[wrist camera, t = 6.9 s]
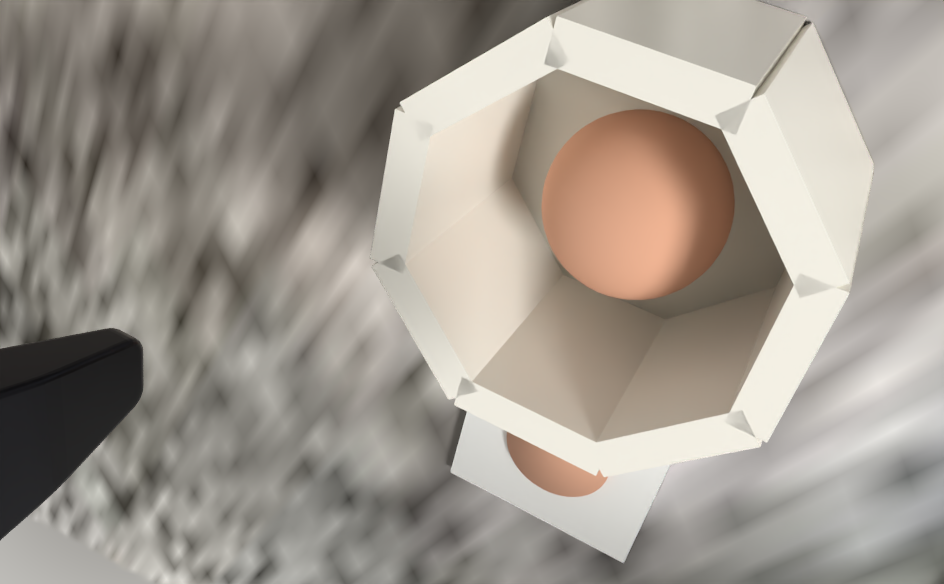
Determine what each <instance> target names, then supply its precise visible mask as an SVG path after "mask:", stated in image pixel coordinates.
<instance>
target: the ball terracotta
mask: <svg viewBox="0 0 944 584" xmlns="http://www.w3.org/2000/svg"><path fill="white" fill-rule="evenodd" d="M734 207H735V199H734V189H733V183H732V179H731V175H730V172H729V170H728V167H727V164H726V162H725V161H724V159H723V157H722V155H721V153H720V152H719V151H718V149H717V148H716V147H715V145H714V144H713V143H712V142H711V140H710V139H709V138H708V137H707V136H706V135H705V134H704V133H702V132H701V131H700V130H699V129H697V128H696V127H695V126H693V125H692V124H690V123H688V122H687V121H685V120H683V119H680V118H678V117H676V116H674V115H671V114H667V113H664V112H660V111H654V110H644V109H635V110H625V111H620V112H616V113H612V114H608V115H606V116H603V117H601V118H598V119H596V120H595V121H593V122H591V123H589V124H588V125H586V126H584V127H583V128H582V129H580V130H579V131H578V132H576V133H575V134H574V135H573V136H572V137H571V138H570V139H569V140H568V141H567V142H566V143H565V144H564V146H563V147H562V148H561V150H560V151H559V152H558V154H557V155H556V157H555V159H554V160H553V162H552V164H551V166H550V169H549V171H548V174H547V177H546V179H545V183H544V188H543V193H542V206H541V208H542V220H543V225H544V230H545V233H546V236H547V239H548V242H549V244H550V246H551V249H552V251H553V252H554V254H555V256H556V257H557V259H558V260H559V262H560V263H561V264H562V265H563V267H564V268H565V269H566V270H567V271H568V272H569V273H570V274H571V275H572V276H573V277H574V278H576V279H577V280H578V281H579V282H581V283H582V284H584V285H585V286H587V287H588V288H590V289H592V290H594V291H596V292H598V293H601V294H604V295H607V296H610V297H614V298H618V299H626V300H646V299H654V298H658V297H662V296H666V295H669V294H671V293H674V292H676V291H679V290H681V289H683V288H684V287H686V286H688V285H690V284H691V283H692V282H694V281H695V280H696V279H698V278H699V277H700V276H701V275H703V274H704V273H705V272H706V271H707V270H708V269H709V268H710V267H711V265H712V264H713V263H714V261H715V260H716V259H717V257H718V256H719V254H720V253H721V251H722V249H723V247H724V246H725V244H726V242H727V239H728V236H729V233H730V231H731V227H732V223H733V218H734Z"/></svg>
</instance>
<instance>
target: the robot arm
mask: <svg viewBox="0 0 944 584" xmlns="http://www.w3.org/2000/svg"><path fill="white" fill-rule="evenodd" d="M142 392H143V347H142V345H141V343H140V341H138V340H137V339H136V338H134V337H132V336H130V335H128V334H126V333H124V332H123V331H121V330H118V329H114V328H109V329H102V330H97V331H92V332H86V333H81V334H76V335H70V336H65V337H60V338H55V339H49V340H44V341H39V342H33V343H28V344H23V345H18V346H12V347H7V348H2V349H0V540H1V539H2V538H3V537H4V536H6V535H7V534H8V533H9V532H10V531H11V530H12V529H14V528H15V527H16V526H17V525H18V524H19V523H20V522H21V521H23V520H24V519H25V518H26V517H27V516H28V515H30V514H31V513H32V512H33V511H34V510H35V509H36V508H37V507H39V506H40V505H41V504H42V503H43V502H44V501H45V500H46V499H47V498H48V497H49V496H51V495H52V494H53V493H54V492H55V491H56V490H57V489H58V488H59V487H60V486H61V485H62V484H63V483H64V482H65V481H66V480H67V479H68V478H69V477H70V476H71V475H72V473H73V472H74V471H75V470H76V469H77V468H78V467H79V466H80V465H81V464H82V463H83V462H84V461H85V460H86V458H87V457H88V456H89V455H90V454H91V453H92V452H93V451H94V450H95V449H96V448H97V447H98V446H99V445H100V443H101V442H102V441H103V440H104V439H105V438H106V437H107V436H108V435H109V434H110V433H111V432H112V431H113V429H114V428H115V427H116V426H117V425H118V424H119V423H120V422H121V421H122V420H123V419H124V418H125V417H126V416H127V414H128V413H129V412H130V411H131V410H132V409H133V408H134V407H135V406H136V404H137V403H138V401H139V399H140V397H141V395H142Z"/></svg>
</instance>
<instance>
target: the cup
mask: <svg viewBox="0 0 944 584" xmlns="http://www.w3.org/2000/svg"><path fill="white" fill-rule="evenodd" d="M805 20H806V16H803V15H800V14H797V13H794V12H791V11H788V10H784V9H781V8H778V7H775V6H772V5H769V4H766V3H763V2H760V1H757V0H582V1H579V2H577V3H575V4H573V5H571V6H569V7H567V8H565V9H563V10H560V11H558V12H556V13H554V14H552V15H550V16H548V17H546V18H544V19H542V20H541V21H539V22H537V23H535V24H534V25H532V26H530V27H529V28H527V29H525V30H523V31H522V32H520V33H518V34H517V35H515V36H513V37H511V38H510V39H508V40H506V41H504V42H503V43H501V44H499V45H498V46H496V47H494V48H492V49H491V50H489V51H487V52H485V53H484V54H482V55H480V56H479V57H477V58H475V59H473V60H472V61H470V62H468V63H466V64H465V65H463V66H461V67H460V68H458V69H456V70H454V71H453V72H451V73H449V74H448V75H446V76H444V77H442V78H441V79H439V80H437V81H435V82H434V83H432V84H430V85H429V86H427V87H425V88H423V89H422V90H420V91H418V92H416V93H415V94H413V95H411V96H410V97H408V98H406V99H404V100H403V101H401V102H399V103H400V104H401V106H400V107H398V108H396V109H395V113H394V118H393V124H392V130H391V136H390V142H389V148H388V154H387V160H386V166H385V172H384V177H383V183H382V189H381V195H380V201H379V207H378V213H377V219H376V225H375V231H374V237H373V242H372V248H371V254H370V259H372V260H374V261H376V263H375V264H373V265H372V268H373V270H374V272H375V273H376V275H377V277H378V278H379V280H380V282H381V284H382V285H383V287H384V289H385V291H386V292H387V294H388V296H389V298H390V299H391V301H392V303H393V304H394V306H395V308H396V310H397V311H398V313H399V315H400V317H401V318H402V320H403V322H404V324H405V325H406V327H407V329H408V330H409V332H410V334H411V336H412V337H413V339H414V341H415V343H416V344H417V346H418V348H419V350H420V351H421V353H422V355H423V356H424V358H425V360H426V362H427V363H428V365H429V367H430V369H431V370H432V372H433V374H434V376H435V377H436V379H437V381H438V382H439V384H440V386H441V388H442V389H443V391H444V393H445V395H446V396H447V398H448V400H449V399H453V398H456V400H455V404H454V405H455V406H457V407H459V408H461V409H463V410H465V411H467V412H469V413H471V414H473V415H475V416H477V417H479V418H481V419H483V420H485V421H487V422H489V423H491V424H493V425H495V426H497V427H499V428H501V429H503V430H505V431H507V432H509V433H511V434H513V435H515V436H517V437H519V438H521V439H523V440H525V441H527V442H529V443H531V444H533V445H535V446H537V447H539V448H541V449H543V450H545V451H547V452H549V453H551V454H553V455H555V456H557V457H559V458H561V459H563V460H565V461H567V462H569V463H571V464H573V465H575V466H577V467H579V468H581V469H583V470H585V471H587V472H589V473H591V474H593V475H595V476H596V475H597V473H598V471H599V470H600V471H601V473H602V475H603V477H608V476H613V475H618V474H624V473H629V472H634V471H639V470H644V469H649V468H655V467H660V466H665V465H670V464H675V463H680V462H686V461H691V460H696V459H701V458H706V457H711V456H716V455H722V454H727V453H732V452H737V451H742V450H747V449H753V448H758V447H761V443H762V440H763V441H765V442H768V440H769V438H770V436H771V435H772V433H773V431H774V429H775V427H776V426H777V424H778V422H779V420H780V418H781V416H782V415H783V413H784V411H785V409H786V407H787V406H788V404H789V402H790V400H791V398H792V397H793V395H794V393H795V391H796V389H797V387H798V386H799V384H800V382H801V380H802V378H803V377H804V375H805V373H806V371H807V369H808V368H809V366H810V364H811V362H812V360H813V358H814V357H815V355H816V353H817V351H818V349H819V348H820V346H821V344H822V342H823V340H824V339H825V337H826V335H827V333H828V331H829V329H830V328H831V326H832V324H833V322H834V320H835V319H836V317H837V315H838V313H839V311H840V310H841V308H842V306H843V304H844V302H845V300H846V299H847V297H848V295H849V293H850V289H851V284H852V279H853V274H854V269H855V264H856V259H857V254H858V249H859V244H860V239H861V234H862V229H863V224H864V219H865V214H866V209H867V204H868V199H869V194H870V189H871V184H872V179H873V174H874V173H873V168H874V164H873V161H872V159H871V157H870V154H869V152H868V150H867V147H866V145H865V143H864V140H863V138H862V136H861V133H860V131H859V129H858V126H857V124H856V122H855V120H854V117H853V115H852V113H851V110H850V108H849V106H848V103H847V101H846V99H845V96H844V94H843V92H842V89H841V87H840V85H839V82H838V80H837V78H836V75H835V73H834V71H833V68H832V66H831V64H830V61H829V59H828V57H827V54H826V52H825V50H824V47H823V45H822V43H821V40H820V38H819V36H818V33H817V31H816V29H815V26H814V24H813V22H812V23H810V24H808V25H806V26H804V27H803V24H804V22H805ZM635 109H644V110H654V111H660V112H664V113H667V114H671V115H674V116H676V117H678V118H680V119H683V120H685V121H687V122H688V123H690V124H692V125H693V126H695V127H696V128H697V129H699V130H700V131H701V132H702V133H704V134H705V135H706V136H707V137H708V138H709V139H710V140H711V142H712V143H713V144H714V145H715V147H716V148H717V149H718V151H719V152H720V153H721V155H722V157H723V159H724V161H725V162H726V164H727V167H728V170H729V172H730V175H731V179H732V183H733V189H734V199H735V207H734V218H733V223H732V227H731V231H730V233H729V236H728V239H727V242H726V244H725V246H724V247H723V249H722V251H721V253H720V254H719V256H718V257H717V259H716V260H715V261H714V263H713V264H712V265H711V267H710V268H709V269H708V270H707V271H706V272H705V273H704V274H703V275H701V276H700V277H699V278H698V279H696V280H695V281H694V282H692V283H691V284H690V285H688V286H686V287H684V288H683V289H681V290H679V291H676V292H674V293H671V294H669V295H666V296H662V297H658V298H654V299H646V300H626V299H618V298H614V297H610V296H607V295H604V294H601V293H598V292H596V291H594V290H592V289H590V288H588V287H587V286H585V285H584V284H582V283H581V282H579V281H578V280H577V279H576V278H574V277H573V276H572V275H571V274H570V273H569V272H568V271H567V270H566V269H565V268H564V267H563V265H562V264H561V263H560V262H559V260H558V259H557V257H556V256H555V254H554V252H553V251H552V249H551V246H550V244H549V242H548V239H547V236H546V233H545V230H544V225H543V220H542V208H541V206H542V193H543V188H544V183H545V179H546V177H547V174H548V171H549V169H550V166H551V164H552V162H553V160H554V159H555V157H556V155H557V154H558V152H559V151H560V150H561V148H562V147H563V146H564V144H565V143H566V142H567V141H568V140H569V139H570V138H571V137H572V136H573V135H574V134H575V133H576V132H578V131H579V130H580V129H582V128H583V127H584V126H586V125H588V124H589V123H591V122H593V121H595V120H596V119H598V118H601V117H603V116H606V115H608V114H612V113H616V112H620V111H625V110H635Z"/></svg>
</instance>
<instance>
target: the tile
mask: <svg viewBox="0 0 944 584" xmlns="http://www.w3.org/2000/svg"><path fill="white" fill-rule="evenodd" d="M670 465H671V464H670ZM670 465H665V466H660V467H655V468H649V469H644V470H639V471H634V472H629V473H624V474H618V475H613V476H608V477H603V475H602V473H601V471H600V470H599V471H598V473H597V475H596V476H595V475H593V474H591V473H589V472H587V471H585V470H583V469H581V468H579V467H577V466H575V465H573V464H571V463H569V462H567V461H565V460H563V459H561V458H559V457H557V456H555V455H553V454H551V453H549V452H547V451H545V450H543V449H541V448H539V447H537V446H535V445H533V444H531V443H529V442H527V441H525V440H523V439H521V438H519V437H517V436H515V435H513V434H511V433H509V432H507V431H505V430H503V429H501V428H499V427H497V426H495V425H493V424H491V423H489V422H487V421H485V420H483V419H481V418H479V417H477V416H475V415H473V414H471V413H469V412H467V413H466V417H465V420H464V424H463V428H462V431H461V435H460V438H459V442H458V446H457V449H456V453H455V457H454V460H453V464H452V467H451V471H450V472H451V473H453V474H455V475H456V476H458V477H460V478H462V479H464V480H466V481H468V482H470V483H472V484H474V485H475V486H477V487H479V488H481V489H483V490H485V491H487V492H489V493H491V494H493V495H495V496H496V497H498V498H500V499H502V500H504V501H506V502H508V503H510V504H512V505H514V506H515V507H517V508H519V509H521V510H523V511H525V512H527V513H529V514H531V515H533V516H535V517H536V518H538V519H540V520H542V521H544V522H546V523H548V524H550V525H552V526H554V527H555V528H557V529H559V530H561V531H563V532H565V533H567V534H569V535H571V536H573V537H575V538H576V539H578V540H580V541H582V542H584V543H586V544H588V545H590V546H592V547H594V548H595V549H597V550H599V551H601V552H603V553H605V554H607V555H609V556H611V557H613V558H615V559H616V560H618V561H620V562H622V563H624V561H625V559H626V557H627V555H628V553H629V551H630V549H631V547H632V545H633V542H634V540H635V538H636V536H637V534H638V532H639V530H640V528H641V526H642V524H643V521H644V519H645V517H646V515H647V513H648V511H649V509H650V507H651V505H652V502H653V500H654V498H655V496H656V494H657V492H658V490H659V488H660V486H661V484H662V481H663V479H664V477H665V475H666V473H667V471H668V469H669V467H670Z"/></svg>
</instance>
